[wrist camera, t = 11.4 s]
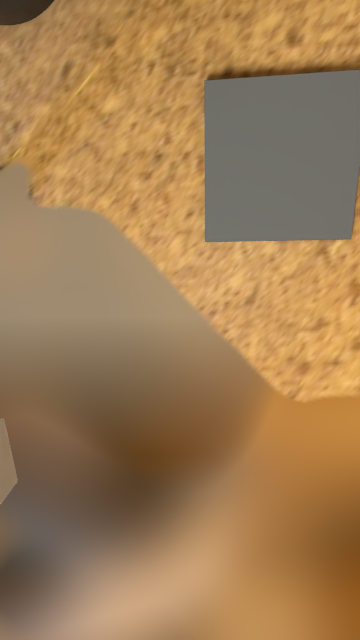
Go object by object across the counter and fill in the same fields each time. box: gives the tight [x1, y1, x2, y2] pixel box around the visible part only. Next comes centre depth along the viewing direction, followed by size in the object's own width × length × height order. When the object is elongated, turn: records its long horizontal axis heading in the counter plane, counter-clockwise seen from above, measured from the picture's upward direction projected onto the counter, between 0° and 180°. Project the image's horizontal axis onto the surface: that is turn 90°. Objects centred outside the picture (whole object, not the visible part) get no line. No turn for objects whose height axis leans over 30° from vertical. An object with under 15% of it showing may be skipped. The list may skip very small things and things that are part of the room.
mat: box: [205, 70, 360, 242], centre depth 37 cm, size 16×16×1 cm
